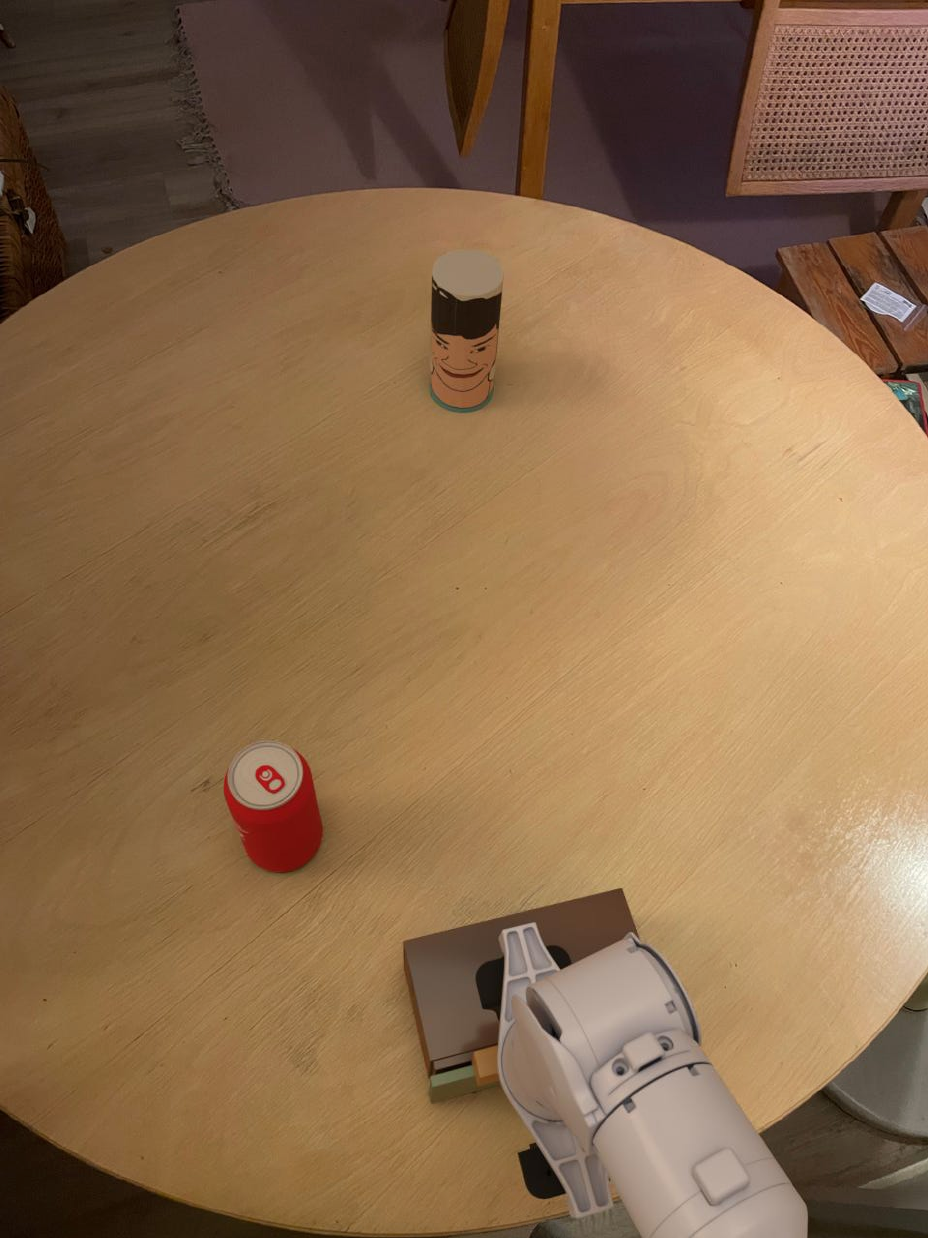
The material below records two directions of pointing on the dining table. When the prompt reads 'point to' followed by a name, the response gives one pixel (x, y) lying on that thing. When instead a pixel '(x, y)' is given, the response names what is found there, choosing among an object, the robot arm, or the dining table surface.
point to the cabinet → (454, 956)
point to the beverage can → (274, 805)
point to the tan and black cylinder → (464, 329)
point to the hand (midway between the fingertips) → (531, 1076)
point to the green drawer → (466, 1077)
